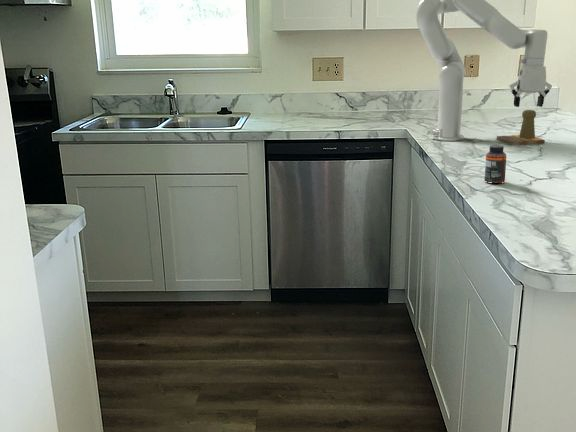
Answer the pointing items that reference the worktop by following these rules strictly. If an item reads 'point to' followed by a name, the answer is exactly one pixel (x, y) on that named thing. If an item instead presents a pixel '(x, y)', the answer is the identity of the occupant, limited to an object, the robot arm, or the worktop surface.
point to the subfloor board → (519, 140)
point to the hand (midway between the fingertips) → (528, 106)
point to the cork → (528, 124)
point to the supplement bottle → (495, 164)
